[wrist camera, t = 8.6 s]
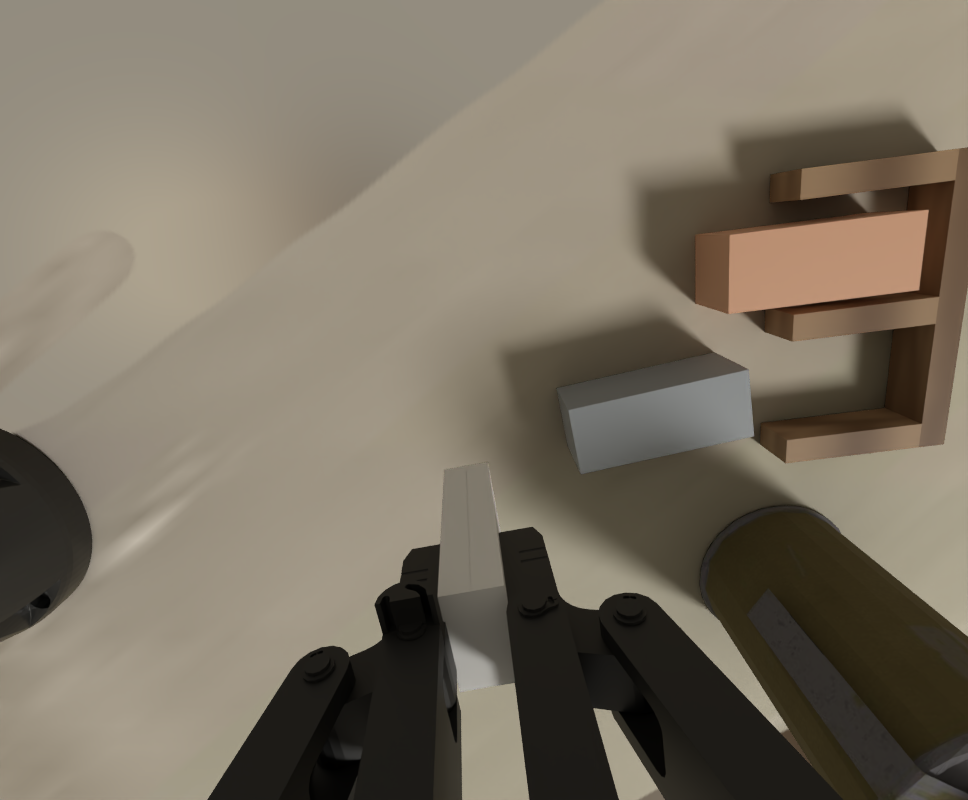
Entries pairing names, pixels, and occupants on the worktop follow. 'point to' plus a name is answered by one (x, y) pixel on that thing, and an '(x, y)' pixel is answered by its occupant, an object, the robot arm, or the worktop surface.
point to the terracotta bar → (810, 261)
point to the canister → (844, 656)
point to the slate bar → (656, 411)
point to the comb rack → (886, 311)
